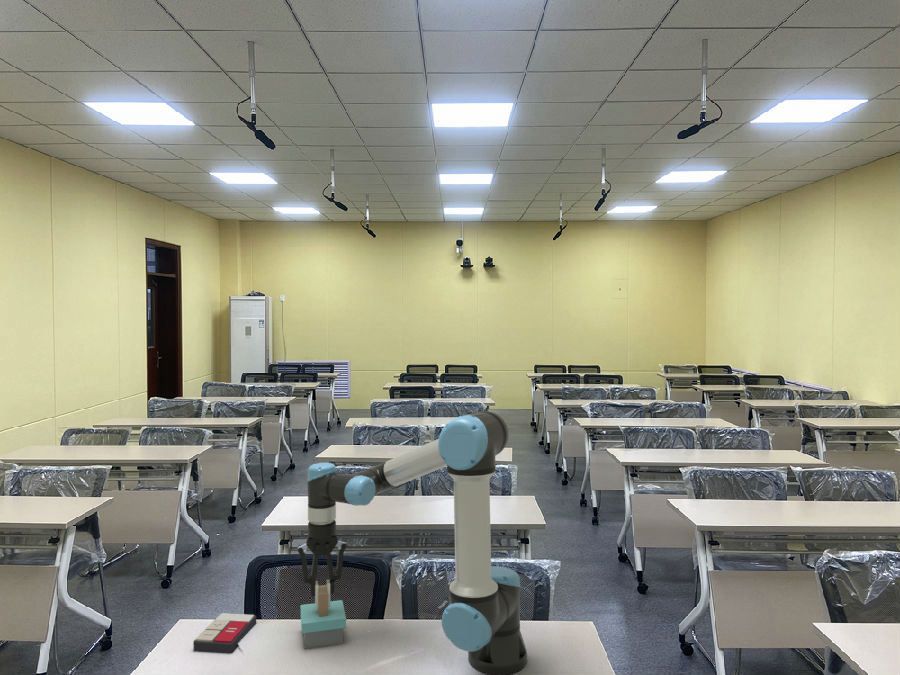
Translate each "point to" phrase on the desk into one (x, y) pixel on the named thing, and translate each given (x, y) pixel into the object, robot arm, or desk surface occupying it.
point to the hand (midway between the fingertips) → (322, 605)
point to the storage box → (323, 638)
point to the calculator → (224, 633)
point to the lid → (322, 614)
